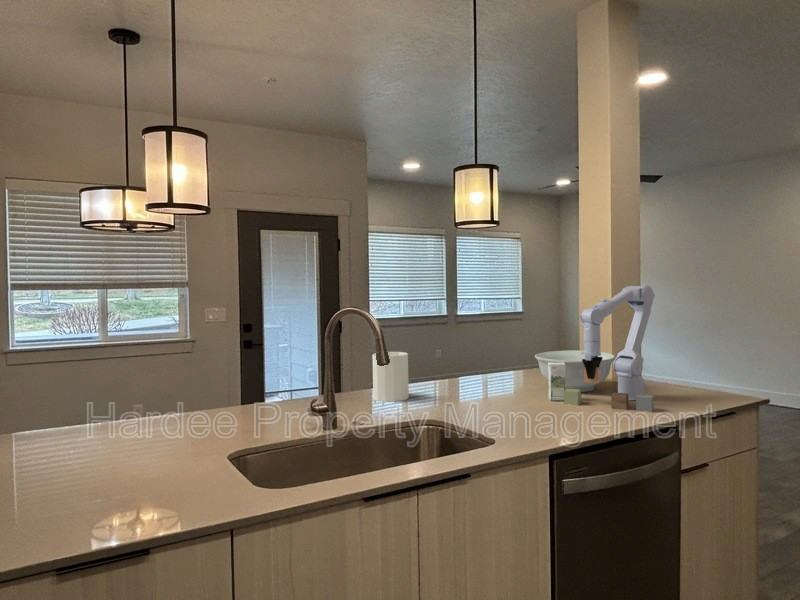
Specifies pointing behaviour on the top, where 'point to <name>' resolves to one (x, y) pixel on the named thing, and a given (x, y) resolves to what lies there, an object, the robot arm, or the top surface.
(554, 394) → the syrup box
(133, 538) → the top surface
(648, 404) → the slate block
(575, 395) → the olive block
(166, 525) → the top surface
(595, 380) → the terracotta block
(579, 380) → the bowl
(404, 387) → the container
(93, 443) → the top surface
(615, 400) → the walnut block
